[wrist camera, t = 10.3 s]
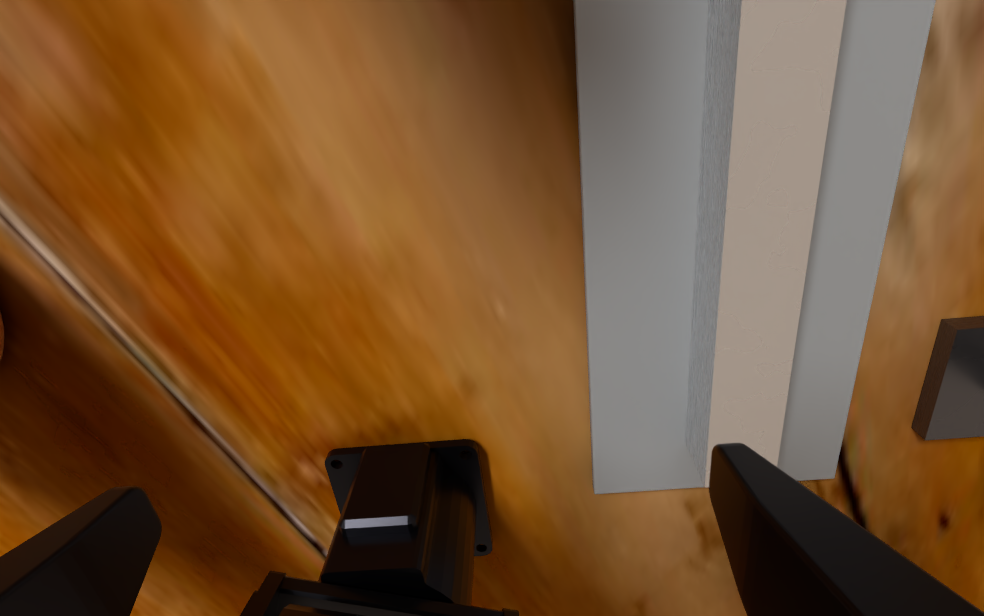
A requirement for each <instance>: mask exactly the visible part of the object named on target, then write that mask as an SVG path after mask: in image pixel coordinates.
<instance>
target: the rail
mask: <svg viewBox="0 0 984 616" xmlns="http://www.w3.org/2000/svg"><path fill="white" fill-rule="evenodd" d="M846 2H847V0H708V19H707V38H706V56H705V75H704V94H703V113H702V132H701V150H700V169H699V188H698V207H697V226H696V244H695V263H694V282H693V301H692V320H691V338H690V357H689V376H688V395H687V414H686V432H685V444H686V446H687V448H688V451H689V453H690V455H691V457H692V460H693V462H694V464H695V467H696V469H697V471H698V473H699V476H700V478H701V480H702V482H703V485H704V487H709V479H710V466H711V454H712V450H713V447H714V446H715V445H717V444H724V443H743V444H745V445H747V446H748V447H750V448H751V449H752V450H754V451H755V452H757V453H758V454H759V455H761V456H762V457H764V458H765V459H767V460H768V461H769V462H771V463H772V464H774V465H775V466H777V464H778V457H779V450H780V443H781V437H782V430H783V423H784V417H785V410H786V403H787V397H788V390H789V383H790V377H791V370H792V363H793V356H794V350H795V343H796V336H797V330H798V323H799V316H800V310H801V303H802V296H803V290H804V283H805V276H806V269H807V263H808V256H809V249H810V243H811V236H812V229H813V223H814V216H815V209H816V203H817V196H818V189H819V182H820V176H821V169H822V162H823V156H824V149H825V142H826V136H827V129H828V122H829V116H830V109H831V102H832V95H833V89H834V82H835V75H836V69H837V62H838V55H839V49H840V42H841V35H842V29H843V22H844V15H845V8H846Z"/></svg>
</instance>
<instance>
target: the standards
mask: <svg viewBox="0 0 984 616" xmlns="http://www.w3.org/2000/svg"><path fill="white" fill-rule="evenodd" d="M912 428H913V429H914V430H915V431H916V432H917V433H918V434H919V435H920V436H921V437H922V438H923V439H924V440H937V439H951V438H965V437H980V436H984V316H977V317H965V318H953V319H942V320H941V324H940V327H939V331H938V335H937V338H936V342H935V345H934V349H933V352H932V356H931V360H930V363H929V367H928V370H927V374H926V378H925V381H924V385H923V388H922V392H921V396H920V399H919V403H918V406H917V410H916V414H915V417H914V421H913V424H912Z"/></svg>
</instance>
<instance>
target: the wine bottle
mask: <svg viewBox="0 0 984 616" xmlns="http://www.w3.org/2000/svg"><path fill="white" fill-rule="evenodd" d="M3 348H4V325H3V321H2V316H1V312H0V362H1V358H2V354H3Z"/></svg>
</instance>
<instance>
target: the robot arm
mask: <svg viewBox="0 0 984 616" xmlns="http://www.w3.org/2000/svg"><path fill="white" fill-rule="evenodd" d="M464 450H467V451H470V453H463V452H462V451H464ZM335 460H339V461H341V463H340V462H336V461H335ZM325 467H326V470H327V473H328V476H329V479H330V482H331V486H332V489H333V492H334V495H335V498H336V501H337V505H338V508H339V511H340V514H341V516H340V519H339V522H338V525H337V528H336V531H335V533H334V536H333V539H332V542H331V545H330V548H329V551H328V554H327V557H326V560H325V563H324V566H323V569H322V572H321V575H320V578H319V580H318V581H312V580H306V579H300V578H293V577H287V576H286V573H281V572H275V571H270V572H269V573H268V575H267V577H266V578H265V580H264V582H263V583H262V585H261V587H260V589H259V590H258V591H256V590H255V592H254V593H253V595H252V596H251V598H250V600H249V601H248V603H247V605H246V606H245V608H244V610H243V611H242V613H241V615H240V616H519V612H518V611H516V610H510V609H504V608H503V609H502V611H498V610H492V609H486V608H480V607H474V606H471V599H472V582H473V566H474V556H484V555H487V554H489V553H490V552H491V551H492V534H491V528H490V521H489V515H488V508H487V502H486V495H485V489H484V482H483V476H482V469H481V463H480V456H479V450H478V446H477V444H476V443H475V442H474V441H471V440H468V439H462V440H448V441H435V442H421V443H408V444H394V445H381V446H367V447H354V448H340V449H333V450H331V451H330V452H329V453H328V455H327V458H326V460H325ZM709 493H710V498H711V503H712V506H713V509H714V512H715V516H716V519H717V522H718V526H719V529H720V532H721V536H722V539H723V542H724V545H725V549H726V552H727V555H728V559H729V562H730V565H731V568H732V572H733V575H734V578H735V582H736V585H737V588H738V591H739V594H740V597H741V600H742V603H743V605H744V608H745V610H746V613H747V615H748V616H984V612H982V611H981V610H980V609H978V608H977V607H975V606H974V605H972V604H971V603H970V602H968V601H967V600H965V599H964V598H963V597H961V596H960V595H958V594H957V593H955V592H954V591H953V590H951V589H950V588H948V587H947V586H945V585H944V584H943V583H941V582H940V581H938V580H937V579H936V578H934V577H933V576H931V575H930V574H928V573H927V572H926V571H924V570H923V569H921V568H920V567H918V566H917V565H916V564H914V563H913V562H911V561H910V560H909V559H907V558H906V557H904V556H903V555H901V554H900V553H899V552H897V551H896V550H894V549H893V548H892V547H890V546H889V545H887V544H886V543H884V542H883V541H882V540H880V539H879V538H877V537H876V536H874V535H873V534H872V533H870V532H869V531H867V530H866V529H865V528H863V527H862V526H860V525H859V524H857V523H856V522H855V521H853V520H852V519H850V518H849V517H847V516H846V515H845V514H843V513H842V512H840V511H839V510H838V509H836V508H835V507H833V506H832V505H830V504H829V503H828V502H826V501H825V500H823V499H822V498H821V497H819V496H818V495H816V494H815V493H813V492H812V491H811V490H809V489H808V488H806V487H805V486H803V485H802V484H801V483H799V482H798V481H796V480H795V479H794V478H792V477H791V476H789V475H788V474H786V473H785V472H784V471H782V470H781V469H779V468H778V467H777V466H775V465H774V464H772V463H771V462H769V461H768V460H767V459H765V458H764V457H762V456H761V455H759V454H758V453H757V452H755V451H754V450H752V449H751V448H750V447H748V446H747V445H745V444H743V443H724V444H717V445H715V446H714V447H713V450H712V454H711V466H710V479H709ZM161 530H162V526H161V521H160V519H159V517H158V515H157V513H156V511H155V509H154V507H153V505H152V503H151V501H150V499H149V498H148V496H147V494H146V492H145V490H144V489H142V488H141V487H139V486H123V487H115V488H111V489H109V490H107V491H106V492H104V493H103V494H101V495H99V496H98V497H96V498H94V499H93V500H91V501H90V502H88V503H86V504H85V505H83V506H82V507H80V508H78V509H77V510H75V511H74V512H72V513H70V514H69V515H67V516H65V517H64V518H62V519H61V520H59V521H57V522H56V523H54V524H53V525H51V526H49V527H48V528H46V529H45V530H43V531H41V532H40V533H38V534H37V535H35V536H33V537H32V538H30V539H28V540H27V541H25V542H24V543H22V544H20V545H19V546H17V547H16V548H14V549H12V550H11V551H9V552H8V553H6V554H4V555H3V556H1V557H0V616H130V613H131V611H132V608H133V606H134V603H135V601H136V598H137V596H138V593H139V590H140V588H141V585H142V583H143V580H144V578H145V575H146V573H147V570H148V568H149V565H150V562H151V560H152V557H153V555H154V552H155V550H156V547H157V545H158V542H159V539H160V536H161ZM480 544H484V545H480Z"/></svg>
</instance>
